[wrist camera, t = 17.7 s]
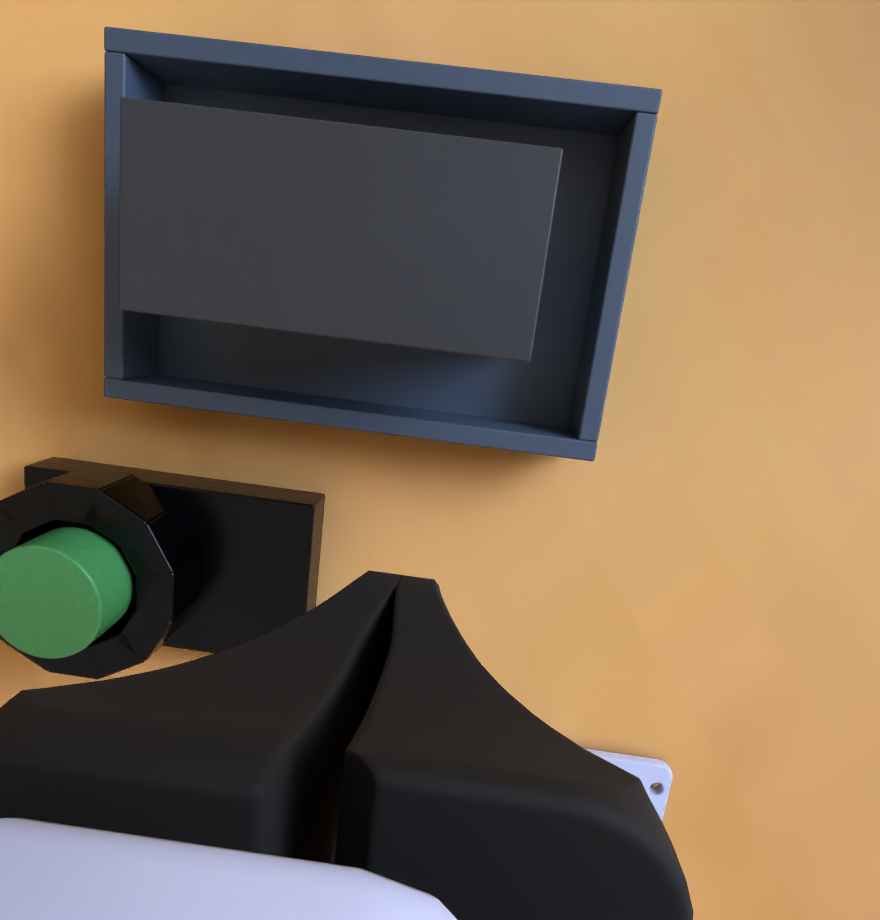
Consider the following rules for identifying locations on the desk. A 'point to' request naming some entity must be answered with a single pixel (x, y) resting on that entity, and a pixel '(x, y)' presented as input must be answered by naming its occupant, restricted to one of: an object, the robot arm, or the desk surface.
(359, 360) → the open rectangular tray
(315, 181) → the dark grey block
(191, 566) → the panel
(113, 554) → the button
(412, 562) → the desk surface
